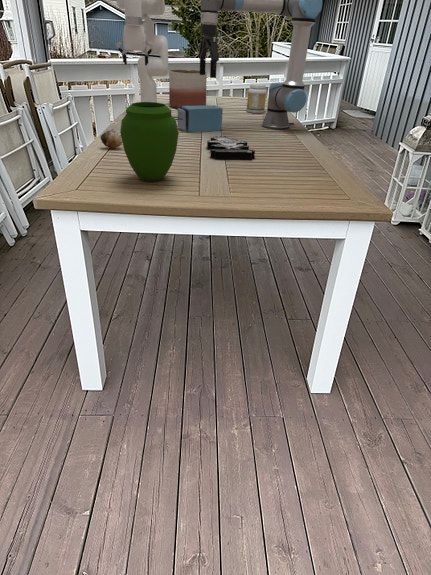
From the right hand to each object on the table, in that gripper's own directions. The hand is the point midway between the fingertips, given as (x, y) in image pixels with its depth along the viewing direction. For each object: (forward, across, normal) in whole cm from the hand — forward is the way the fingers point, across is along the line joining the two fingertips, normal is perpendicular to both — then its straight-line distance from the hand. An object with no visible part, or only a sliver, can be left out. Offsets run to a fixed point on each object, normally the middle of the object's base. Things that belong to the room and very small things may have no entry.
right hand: (207, 76), depth 198 cm
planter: (+27, -84, +20) cm, 90 cm away
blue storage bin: (+27, -12, +2) cm, 30 cm away
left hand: (-4, -13, -32) cm, 34 cm away
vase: (+27, +64, -47) cm, 84 cm away
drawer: (+26, -12, -4) cm, 29 cm away
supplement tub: (+27, -59, +60) cm, 89 cm away
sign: (+27, +34, -2) cm, 43 cm away
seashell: (+27, +18, -52) cm, 61 cm away
